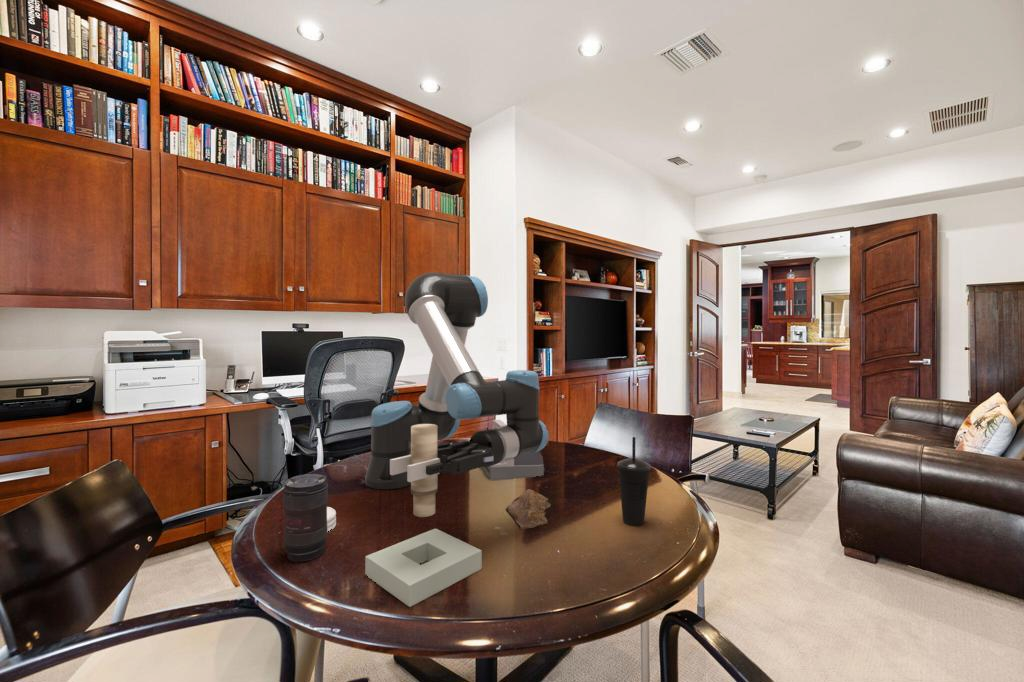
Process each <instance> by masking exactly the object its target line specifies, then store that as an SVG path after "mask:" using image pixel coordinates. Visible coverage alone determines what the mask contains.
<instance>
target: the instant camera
mask: <svg viewBox="0 0 1024 682" xmlns="http://www.w3.org/2000/svg"><path fill="white" fill-rule="evenodd" d="M506 425H507V423H505V422H504V421H502V420H501V419H493V420H492V428H495V427H500V426H506ZM482 468H483V469H482ZM481 469H482V470H483V472H484V471H485V472H484V473H485V475H486V476H487V477H488V479H489V480H491V481H501V480H503V479H505V480H515V479H514V478H516V479H525V478H536V476H539V477H543V476H544V472H545V467H544V457H543V455H542V453H540V451H537V452H535V453H533V454H530V455H525V456H521V457H518V458H514V459H511V460H508V461H505V462H504V464H501V463H498V464H495V465H492V466H489V467H481ZM542 475H543V476H542Z"/></svg>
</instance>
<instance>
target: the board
mask: <svg viewBox="0 0 1024 682" xmlns="http://www.w3.org/2000/svg"><path fill="white" fill-rule="evenodd" d="M482 557H483V555H482V549H480V548H477V547H475V546H473V545H471V544H469V543H467V542H465V541H463V540H461V539H459V538H456V537H455V536H452V535H450V534H448V533H446V532H444V531H442V530H439V528H435V527H434V528H433V529H431V530H428V531H425V532H422V533H420V534H417V535H415V536H412V537H409V538H408V539H405V540H403V541H401V542H398V543H396V544H392V545H391V546H387V547H385V548H383V549H380V550H378V551H375V552H373V553H370V554H368V555H365V558H364V559H365V561H364V562H365V563H364V566H365V570H364V571H365V574H366V575H367V576H368V577H367V576H366V575H365V574H364V575H365V576H366V577H367V578H369V579H370V580H371V579H372V580H371V581H373V582H376V583H375V584H376V585H378V586H379V587H381V588H383V589H384V590H385V591H387V592H388V593H389V594H391V595H392V596H394V597H395V598H396V599H398V600H399V601H400V602H402V603H403V604H405V606H407V607H409V608H411V607H413V606H415V605H416V604H419V603H420V602H422V601H424V600H427V599H428V598H430V597H431V596H434V595H435V594H438V593H439V592H441V591H442V590H445V589H446V588H449V587H451V586H452V585H453V584H456V583H457V582H459V581H462V580H463V579H465V578H468V577H469V576H470V575H474V574H475V573H476V572H479V571H480V570H481V569H482V567H483V565H482V563H483V560H482ZM420 563H421V564H420Z"/></svg>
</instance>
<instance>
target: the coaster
mask: <svg viewBox="0 0 1024 682" xmlns="http://www.w3.org/2000/svg"><path fill="white" fill-rule="evenodd" d="M336 515H337V512H336V509H334V508H333V507H330V506H327V533H329V532H331V531H332V530H333V529H334V528H335V527H336V526H337V516H336ZM331 529H332V530H331ZM330 530H331V531H330ZM328 531H329V532H328Z"/></svg>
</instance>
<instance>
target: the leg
mask: <svg viewBox="0 0 1024 682" xmlns="http://www.w3.org/2000/svg"><path fill="white" fill-rule="evenodd" d="M437 445H438V440H437V425H435V424H417V425H413V426H411V465H412V464H415V463H419V462H423V461H427V460H432V459H435V458H437ZM438 488H439V486H438V474H436V475H433V476H429V477H426V478H423V479H419V480H416V481H412V482H411V485H410V493H411V495H413V496H412V497H413V498H412V499H413V500H412V501H413V502H412V503H413V506H412V507H413V512H412V513H413V515H414V516H415V517H418V518H425V517H426V518H427V517H431V516H433V515H435V514H436V493H437V492H438Z"/></svg>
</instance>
